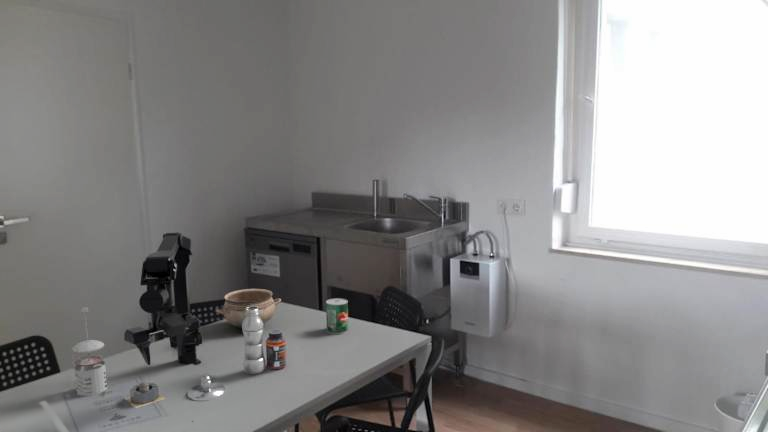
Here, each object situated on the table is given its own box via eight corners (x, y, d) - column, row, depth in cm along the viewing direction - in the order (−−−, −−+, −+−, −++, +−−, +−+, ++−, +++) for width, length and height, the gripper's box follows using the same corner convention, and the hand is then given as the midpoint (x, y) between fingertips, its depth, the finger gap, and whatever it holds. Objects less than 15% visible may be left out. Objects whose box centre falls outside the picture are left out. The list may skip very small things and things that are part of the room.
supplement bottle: (282, 371, 180) (280, 335, 179) (263, 369, 182) (262, 334, 180) (289, 363, 186) (287, 328, 184) (271, 362, 187) (269, 327, 186)
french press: (85, 404, 160) (77, 315, 157) (61, 394, 166) (53, 308, 163) (118, 390, 168) (111, 305, 165) (94, 381, 175) (87, 299, 171)
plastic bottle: (247, 378, 176) (244, 313, 173) (241, 370, 181) (238, 307, 178) (268, 373, 178) (265, 309, 175) (262, 366, 184) (259, 303, 181)
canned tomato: (347, 334, 212) (346, 304, 210) (325, 334, 212) (324, 304, 210) (349, 326, 220) (348, 298, 218) (327, 326, 220) (327, 298, 218)
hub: (181, 395, 165) (180, 375, 164) (215, 384, 171) (214, 365, 170) (197, 407, 157) (196, 386, 156) (231, 395, 164) (230, 376, 163)
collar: (128, 398, 161) (127, 387, 161) (152, 391, 165) (151, 380, 165) (137, 406, 156) (136, 395, 156) (161, 398, 161) (161, 388, 160)
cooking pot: (224, 341, 207) (222, 307, 205) (209, 326, 223) (207, 294, 221) (291, 327, 220) (290, 295, 218) (272, 314, 236) (271, 284, 234)
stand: (124, 401, 161) (123, 382, 160) (154, 392, 166) (152, 373, 166) (135, 411, 155) (133, 391, 154) (165, 402, 161) (164, 382, 160)
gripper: (142, 316, 144) (146, 377, 146) (209, 300, 158) (212, 356, 160) (121, 308, 151) (125, 367, 153) (187, 294, 165) (190, 348, 167)
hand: (165, 359), depth 158 cm, fingers open, 9 cm apart
